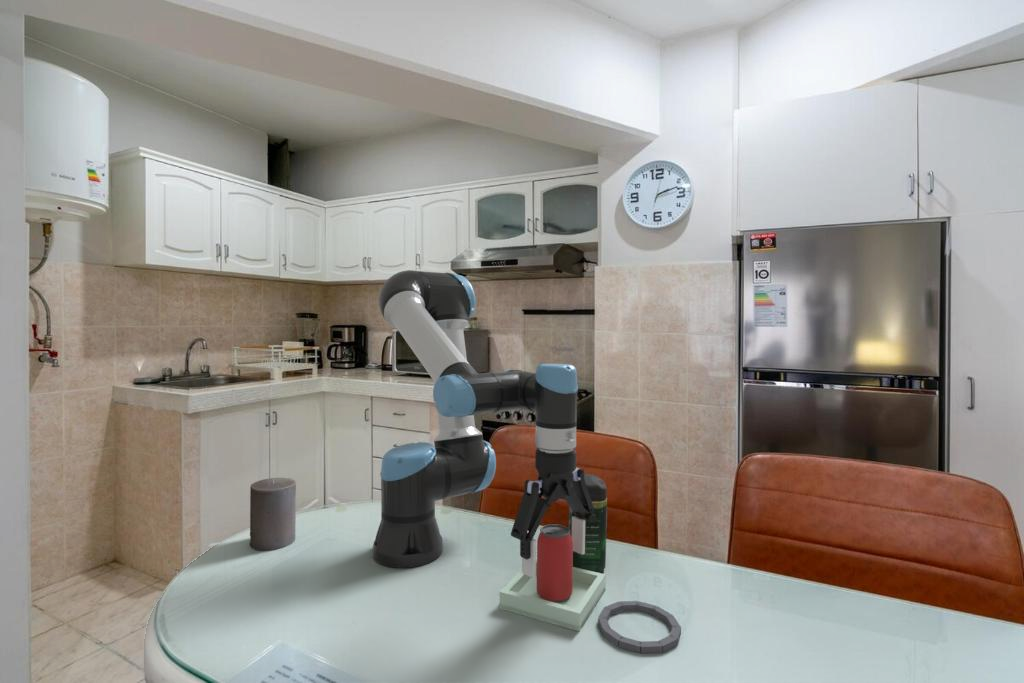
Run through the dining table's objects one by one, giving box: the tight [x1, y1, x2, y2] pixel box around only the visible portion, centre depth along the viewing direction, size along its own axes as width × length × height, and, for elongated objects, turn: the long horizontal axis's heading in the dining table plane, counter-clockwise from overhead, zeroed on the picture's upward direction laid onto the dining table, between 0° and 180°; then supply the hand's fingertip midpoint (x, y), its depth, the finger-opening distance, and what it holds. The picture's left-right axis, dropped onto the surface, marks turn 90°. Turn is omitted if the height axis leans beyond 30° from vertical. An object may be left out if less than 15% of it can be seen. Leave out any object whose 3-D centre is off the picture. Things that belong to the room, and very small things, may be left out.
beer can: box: [536, 523, 573, 602], centre depth 94 cm, size 7×7×12 cm
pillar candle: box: [249, 477, 297, 552], centre depth 118 cm, size 10×10×15 cm
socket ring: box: [597, 600, 682, 654], centre depth 85 cm, size 13×13×1 cm
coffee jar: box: [568, 473, 608, 573], centre depth 108 cm, size 10×8×19 cm
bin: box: [499, 557, 607, 632], centre depth 94 cm, size 15×15×3 cm
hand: (554, 563), depth 94 cm, fingers open, 13 cm apart
